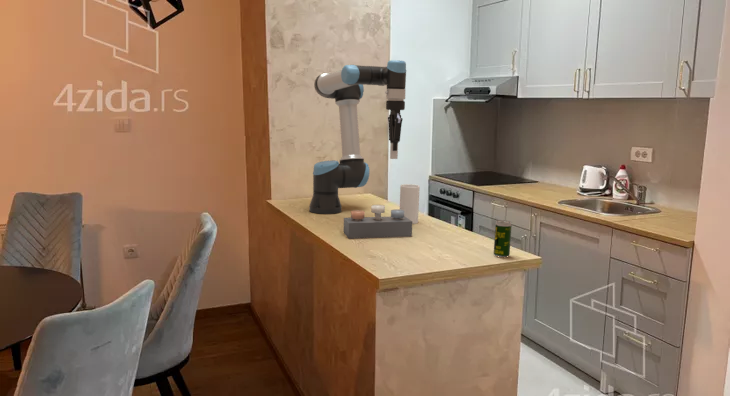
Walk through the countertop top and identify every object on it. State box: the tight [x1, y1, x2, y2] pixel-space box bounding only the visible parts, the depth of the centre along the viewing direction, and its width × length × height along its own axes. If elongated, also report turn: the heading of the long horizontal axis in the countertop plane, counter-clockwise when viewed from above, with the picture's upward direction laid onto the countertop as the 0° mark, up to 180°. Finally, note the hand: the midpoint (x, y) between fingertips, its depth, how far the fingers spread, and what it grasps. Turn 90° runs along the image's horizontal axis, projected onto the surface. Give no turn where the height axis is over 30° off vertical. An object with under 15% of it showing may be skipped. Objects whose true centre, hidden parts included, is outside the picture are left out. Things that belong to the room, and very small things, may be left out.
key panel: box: [343, 216, 413, 240], centre depth 218 cm, size 10×25×6 cm, turn 103°
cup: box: [399, 183, 420, 225], centre depth 241 cm, size 8×8×16 cm
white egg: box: [370, 204, 386, 220], centre depth 217 cm, size 5×5×7 cm
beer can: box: [493, 219, 512, 258], centre depth 190 cm, size 5×5×12 cm
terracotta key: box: [350, 209, 366, 221], centre depth 215 cm, size 5×5×7 cm
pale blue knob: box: [390, 208, 404, 220], centre depth 219 cm, size 5×5×7 cm
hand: (393, 158), depth 228 cm, fingers closed
